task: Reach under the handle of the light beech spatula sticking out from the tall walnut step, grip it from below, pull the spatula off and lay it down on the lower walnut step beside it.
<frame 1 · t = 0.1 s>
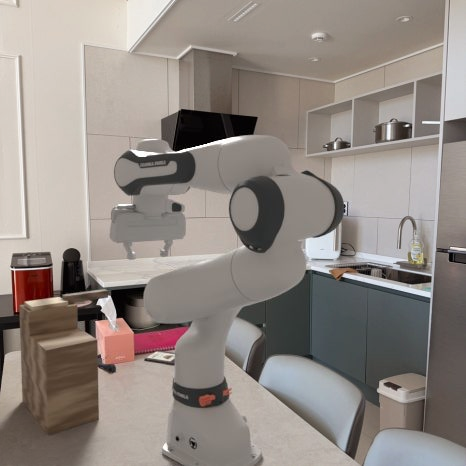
hand: (148, 257, 116), 39 cm above the table, tool pointing down, fingers open, 8 cm apart
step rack: (59, 409, 115), on the table
chocolate bar: (174, 361, 151), on the table
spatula: (63, 302, 120), point 26 cm above the table, touching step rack
dark grey t-shaped piece: (99, 368, 145), on the table
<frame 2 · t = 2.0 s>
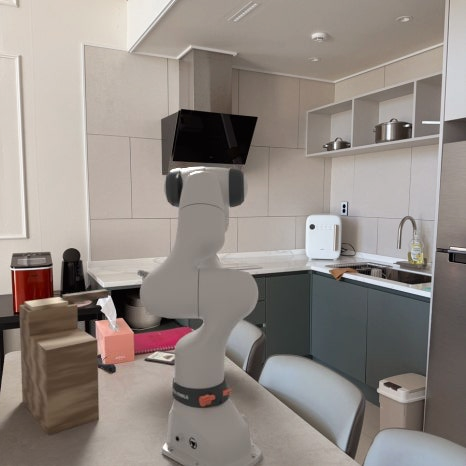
hand: (146, 274, 135), 31 cm above the table, tool pointing upward, fingers open, 8 cm apart
nothing on the table moved.
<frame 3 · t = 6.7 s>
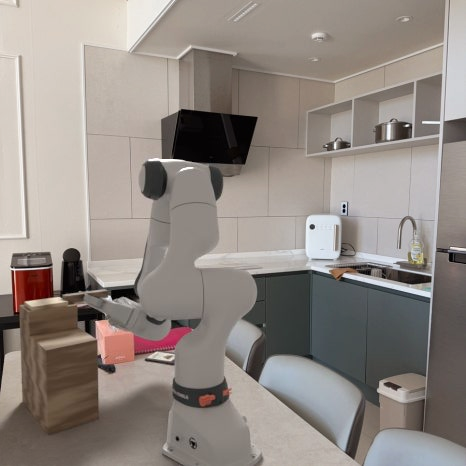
hand: (81, 295, 123), 27 cm above the table, tool pointing upward, fingers closed on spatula, 2 cm apart
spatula: (63, 302, 120), point 26 cm above the table, touching gripper, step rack
everything else where it was.
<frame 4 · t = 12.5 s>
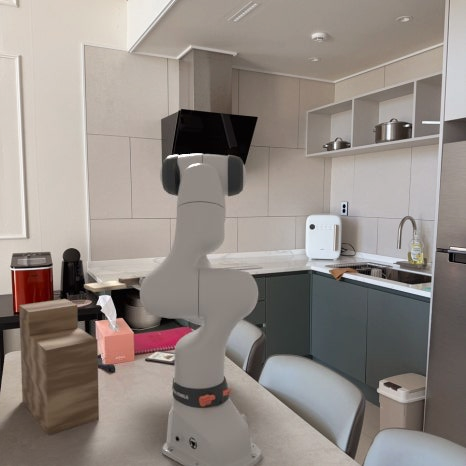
hand: (136, 278, 127), 31 cm above the table, tool pointing upward, fingers closed on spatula, 2 cm apart
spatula: (120, 285, 125), point 30 cm above the table, touching gripper
everything else where it was.
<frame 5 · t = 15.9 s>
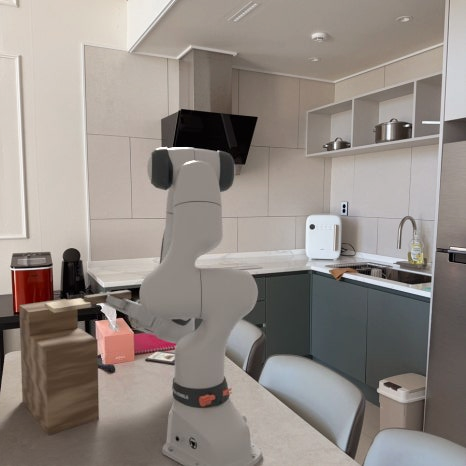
hand: (103, 296, 117), 29 cm above the table, tool pointing upward, fingers closed on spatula, 2 cm apart
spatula: (85, 304, 114), point 27 cm above the table, touching gripper
everything else where it was.
when the fingers open (23 cm above the table, at t = 18.6 s): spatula drops 2 cm, resting on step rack.
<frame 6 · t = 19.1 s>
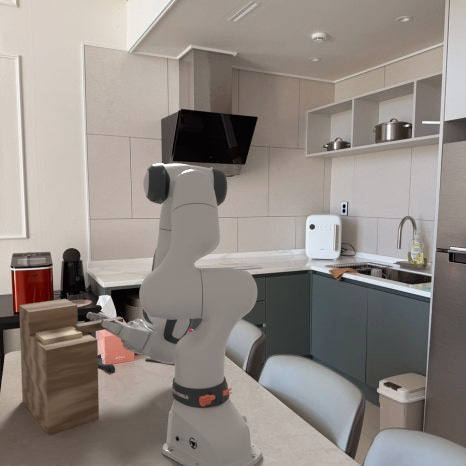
hand: (95, 318, 116), 23 cm above the table, tool pointing upward, fingers open, 8 cm apart
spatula: (77, 333, 113), point 20 cm above the table, touching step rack
everything else where it was.
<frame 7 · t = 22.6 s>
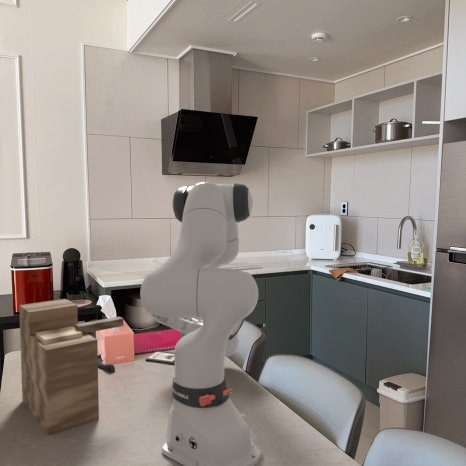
hand: (160, 315, 129), 20 cm above the table, tool pointing upward, fingers open, 8 cm apart
nothing on the table moved.
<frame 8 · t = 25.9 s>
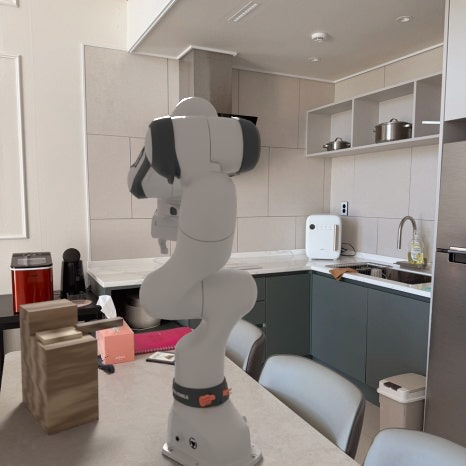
hand: (172, 255, 133), 37 cm above the table, tool pointing down, fingers open, 8 cm apart
nothing on the table moved.
at the end: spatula inside the target area (0.5 cm from its centre), point 20.0 cm above the table; the gripper is holding nothing; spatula tilted 0° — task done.
